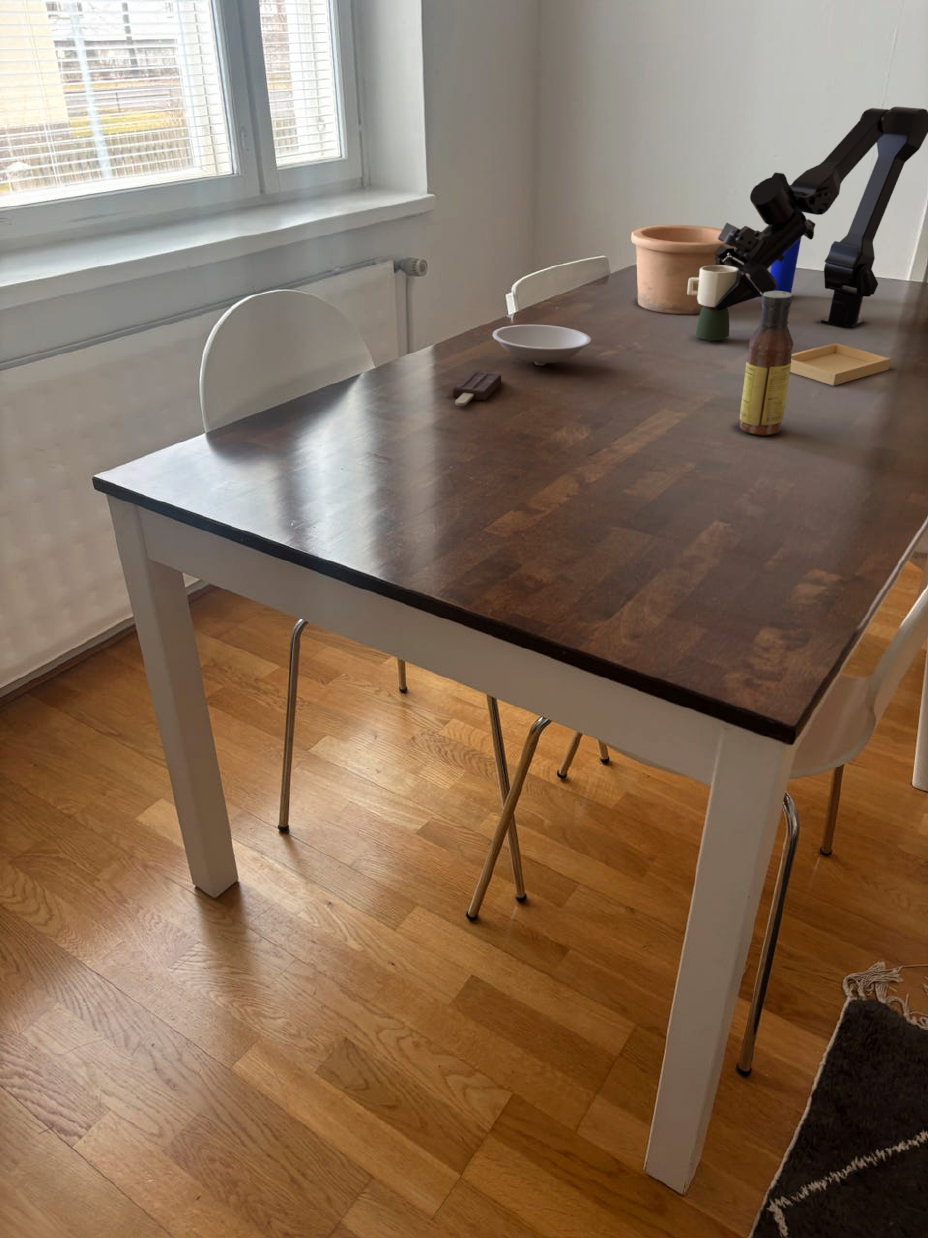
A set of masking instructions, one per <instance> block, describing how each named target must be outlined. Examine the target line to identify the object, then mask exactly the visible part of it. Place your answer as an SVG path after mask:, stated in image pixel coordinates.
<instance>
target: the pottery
mask: <svg viewBox="0 0 928 1238" xmlns="http://www.w3.org/2000/svg"><path fill="white" fill-rule="evenodd" d="M722 230H723V228H717V227H710V226H702V225H692V224H691V225H689V224H660V225H648V226H644V227H640V228H637V229H635V230H633V231H631V237H630V239H631V243H632V245H635V247H636V248H635V250H636V251H635V252H636V279H637V281H636V282H637V283H636V284H637V304H638V305H639V306H640V307H642V308H643V309H645V310H648V311H652V312H655V313H656V312H657V313H661V314H671V315H697V314H700V311H701V310H702V308H703V307H704V306H703V305H701V304H699V303H698V300H697V296H690V295H688V293H687V290H688V280H689V278H692V277H694V278H699V273H700V268H701V267H704V266H711V265H716V261H715V257H716V255H715V253H714V252H715V251H716V250H717V249H718V248H719V247H720V246H721V245H728V244H726V243H724V242H723V241H720V240H718V237H719V235H720V234H721V232H722ZM731 247H733V248H734V249H735V248H736V247H734V246H731ZM693 291H698V283H693Z"/></svg>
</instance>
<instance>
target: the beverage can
mask: <svg viewBox="0 0 928 1238" xmlns="http://www.w3.org/2000/svg"><path fill="white" fill-rule="evenodd" d="M801 241H802V237H801V238H800V239H799V240H798V241H797V242H795V243H794V244H793V245H792V246H791V247H790V248H789V249H788V250H787V251H786V252H785V253H784V254H783V256H784V257H785V259H783V260H782V261H781V262H779V261H777V260H776V261H775V262H774V263H773V264H772V265H771V266H770V271H769V272H770V274H771V275H772V276H773V277H774V279H775V280H776V281H777V286H776V290H775V291H783V292H788V293H791V294H792V291H793V286H794V280H795V274H796V270H797V264H798V258H799V252H800V248H801Z"/></svg>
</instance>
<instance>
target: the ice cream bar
mask: <svg viewBox="0 0 928 1238" xmlns="http://www.w3.org/2000/svg"><path fill="white" fill-rule="evenodd" d="M501 383H502V375H501V374H499V373H492V372H489V371H487V370H478V369H476V370H472V371H470V372H469V373H468V374H467V375H466V376H465V377H464V378H463V379H462V380H461V381H460V382H458V384H456V385H455V386H454V387H453V392H452V394H453V395H452V396H453V397H454V398H456V399H455V401H454V403H455V405H456V406H459V407H462V406H463V407H464V406H466V405H467V404H468V403H470V401H471V400H473V401H474V400H475V401H486V400H487V399H488V397H489V396H490V395H492V394H493V393H494V392H495V390H496V389H497V388H498V387H499V386H500V385H501Z"/></svg>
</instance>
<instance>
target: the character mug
mask: <svg viewBox="0 0 928 1238" xmlns="http://www.w3.org/2000/svg"><path fill="white" fill-rule="evenodd" d="M738 270H739V269H738V268H736V267H732V266H725V265H711V266H704V267H701V268H700V273H699V278H694V277H692V278H689V280H688V290H687V293H688V295H690V296H697V300H698V303H699V304H701V305H703V306H704V307H703V308H702V310H701V311H700V313H699V316H698V320H697V324H696V329H695V336H696V337H698V338H700V339H703V340H706V341H720V340H724V339H726V338H728V337H729V336H730V310H729V309H728V308H729V307H728V308H725V309H723V310H720V311H718V310H717V309H716V308H715V306H716V304H717V303H718V302H719V300H720V299H721V298H722V297H723V296H724V295H725V293H726V292H727V291H728V290H729V289H730V288H731V286H732V285H733V284H734V283H735V281H736V276H737V271H738ZM693 283H698V291H693Z"/></svg>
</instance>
